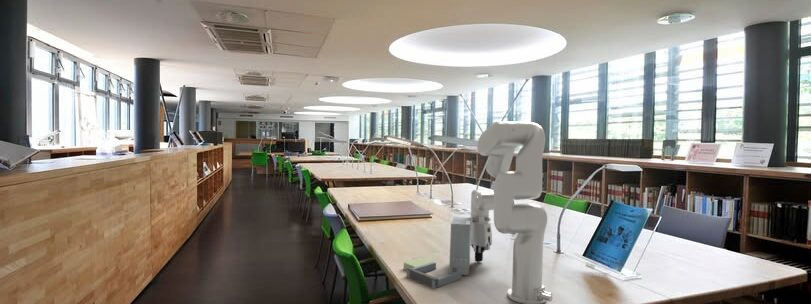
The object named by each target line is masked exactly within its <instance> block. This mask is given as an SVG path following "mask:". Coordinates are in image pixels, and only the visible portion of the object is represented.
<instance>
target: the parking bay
mask: <svg viewBox="0 0 811 304" xmlns="http://www.w3.org/2000/svg"><path fill="white" fill-rule="evenodd" d="M436 264H437V262H435V261H433V262H431V263H428V264H424V265H421V266H418V267H414V268H407V270H406V277H407V278H411V279H412V280H415V281H418V282H420V283H422V284H424V285H426V286H428V287H431V288H434V289H437V288H440V287H443V286H444V285H448V284H451V283H452V282H453V283H454V282H455V281H458V280H462V276H463V275H462V272H460V271H457V272H454V273H451V274H449V273H448V274H446V275H442V276H440V277H435V276H432V275H429V274H427V272H431V271H434V270H436V269H437V265H436Z"/></svg>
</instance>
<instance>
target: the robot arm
mask: <svg viewBox="0 0 811 304" xmlns="http://www.w3.org/2000/svg"><path fill="white" fill-rule="evenodd" d="M519 146H521V148H520V149H519V151H518V153H517V154H516V156H515V170H514V171H511V170H510V169H511V164H512V160H513V158H514V154H515V150H516V147H519ZM545 146H546V133H545V131H544V129H543V127H542V126H541V125H539V124H538V123H536V122H532V121H509V120H505V121H504V120H501V121H500V120H498V121H496V122H494V123H492V124H490V125H489V127H487V128H486V129H485V130H484V131H483V132H482V133H481V135H479V138H478V140H477V145H476V148H477V149H476V150H477V152H478V153H479V155H481V156H484V157H488V160H487V162H486V163H487V164H486V168H485V170H486V172H487V174H488V175H490V176H491V177H493V178H494V179H495V180H494V183H493V191H489V190H486V189H479V188H478V189H473V190H472V191H471V194H470V195H471V198H470V199H471V200H470V218H471V238H470V247H471V248H472V249H473V252H474V261H475V262H477V263H479V262H482V261H483V259H484V252H485V251H489V250H491V247H490V246H492V245H493V231H492V225H491V222H490V221H491V217H490V216H489V215H490V211H493V223H494V227H495V229H496V230H497V232H499V233H500V234H505V235H506V234H510V235H511V234H516V236H515V239H514V241H513V247H512V248H513V249H512V276H511V277H512V278H511V279H512V284H511V287H510V288H508V289H507V291H506V295H507V297H508V298H509V299H510V300H512V301H514V302H517V303H519V304H544V303H545V302H550V303H551V302H552V301H553V293H552V292H549V291H546V289H545V288H546V286H545V285H543V265H544V264H543V262H544V261H543V259H544V256H543V255H544V239H545V238H544V237H545V233H546V228H547V224H548V214H547V211H546V210H545V208H544V207H543V206H541V205H540V204H537V203H515V204H514V201H524V200H525V201H527V200H528V201H531V200H536V199H538V198H540V197H541V195H542V191H543V157H544V156H543V155H544V151H545Z"/></svg>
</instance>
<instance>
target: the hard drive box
mask: <svg viewBox="0 0 811 304" xmlns="http://www.w3.org/2000/svg"><path fill="white" fill-rule="evenodd" d="M470 238H471V217H466V216H453V218H452V220H451V223H450V237H449V239H450V242H449V264H448V265H449V268H448V270H449V271H448V274H451V273H454V272H457V271H460V272H462V276H469V272H470V264H471V246H470Z"/></svg>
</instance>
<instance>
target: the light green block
mask: <svg viewBox="0 0 811 304" xmlns="http://www.w3.org/2000/svg"><path fill="white" fill-rule="evenodd" d="M431 262H434V261H432V260H430V259H427V258H425V257H422V256H421V257H419V258H414V259H411V260H407V261H404V262H403V270H406V271H407V268H414V267H418V266H421V265H424V264H428V263H431Z"/></svg>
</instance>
